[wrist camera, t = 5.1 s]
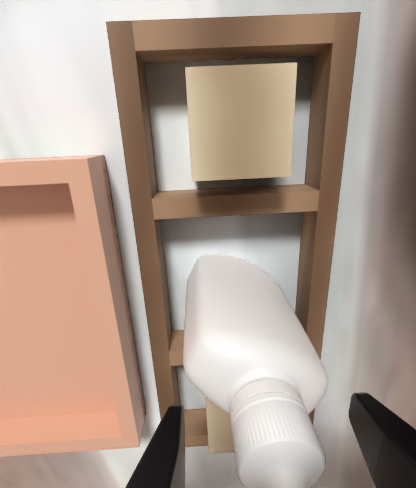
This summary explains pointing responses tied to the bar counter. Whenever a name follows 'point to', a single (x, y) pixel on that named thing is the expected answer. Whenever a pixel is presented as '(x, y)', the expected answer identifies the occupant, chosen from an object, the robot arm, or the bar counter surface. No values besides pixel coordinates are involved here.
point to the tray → (64, 312)
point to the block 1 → (218, 429)
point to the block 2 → (241, 120)
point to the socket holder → (242, 198)
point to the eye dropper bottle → (255, 370)
